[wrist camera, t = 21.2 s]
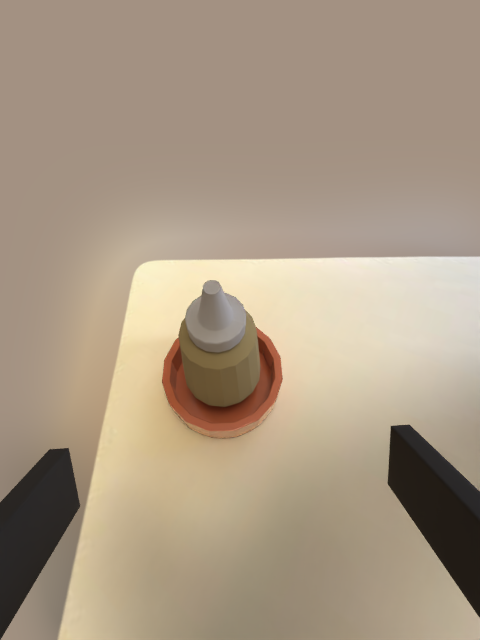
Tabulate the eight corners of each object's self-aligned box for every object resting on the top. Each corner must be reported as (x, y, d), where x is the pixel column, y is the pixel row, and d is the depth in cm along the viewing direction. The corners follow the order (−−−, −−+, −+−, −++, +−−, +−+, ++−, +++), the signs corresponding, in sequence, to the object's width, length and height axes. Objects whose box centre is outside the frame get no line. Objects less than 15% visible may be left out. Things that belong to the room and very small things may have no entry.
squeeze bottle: (174, 384, 35) (122, 293, 20) (221, 336, 38) (208, 225, 23) (227, 431, 33) (216, 369, 17) (272, 376, 36) (298, 281, 20)
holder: (250, 320, 40) (251, 304, 37) (297, 409, 34) (303, 399, 31) (157, 356, 38) (149, 342, 34) (191, 458, 32) (185, 453, 28)
